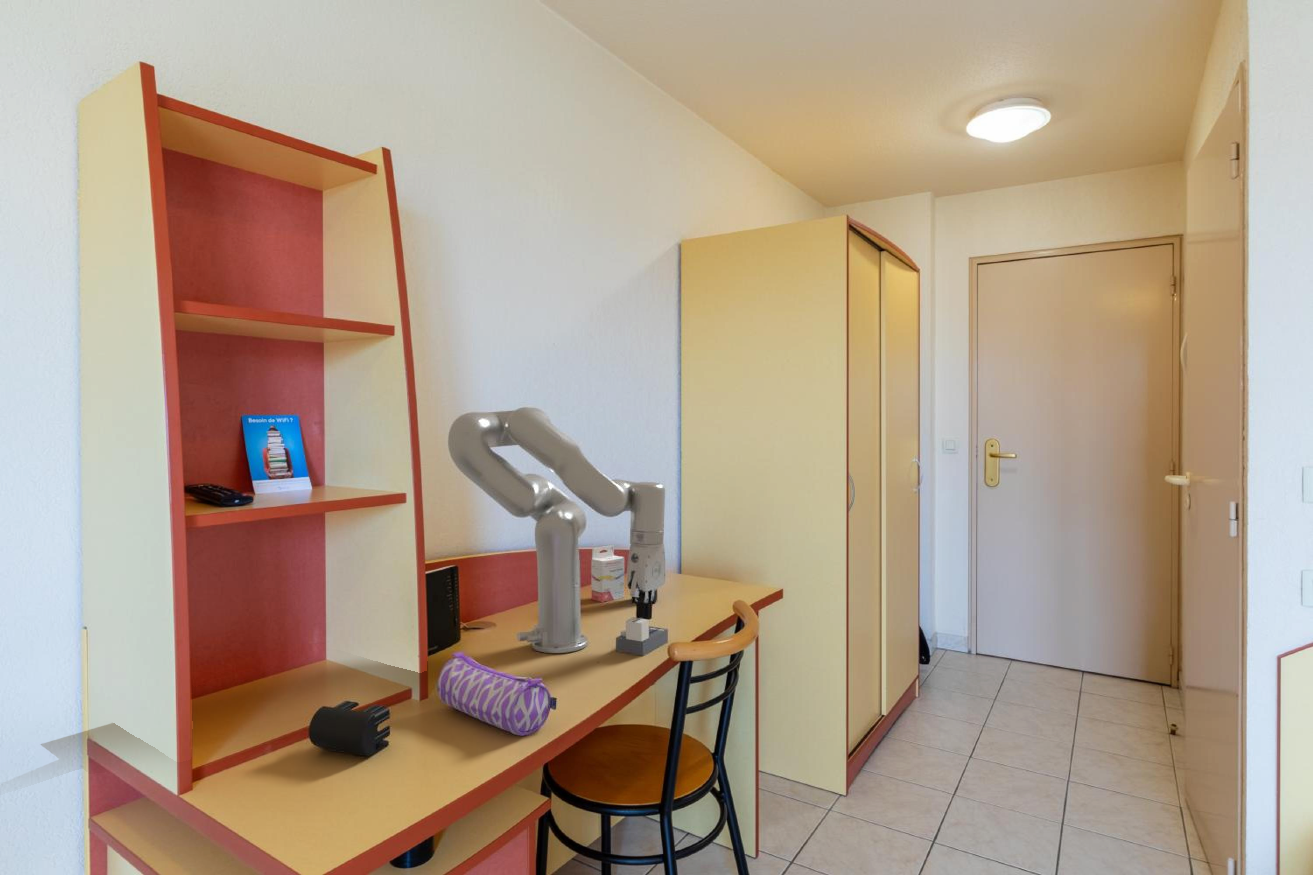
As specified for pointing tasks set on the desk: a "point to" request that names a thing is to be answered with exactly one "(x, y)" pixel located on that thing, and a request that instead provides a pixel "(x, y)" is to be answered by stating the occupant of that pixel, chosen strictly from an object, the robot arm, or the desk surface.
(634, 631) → the block
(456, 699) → the pencil case
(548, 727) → the desk surface
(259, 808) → the desk surface
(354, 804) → the desk surface
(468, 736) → the desk surface
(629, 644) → the console
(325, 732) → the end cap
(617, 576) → the ink cartridge box
